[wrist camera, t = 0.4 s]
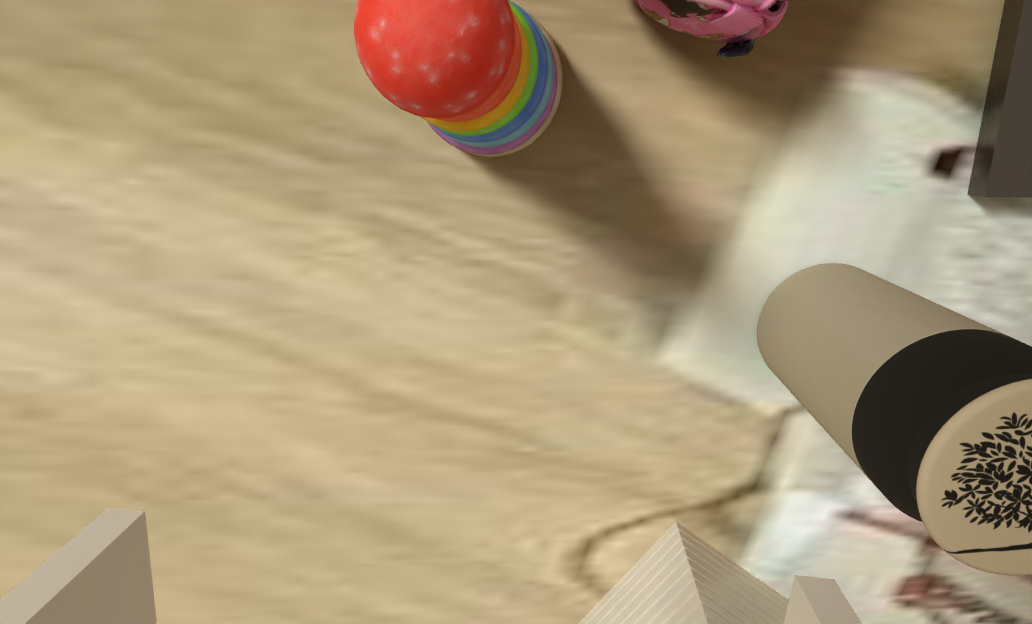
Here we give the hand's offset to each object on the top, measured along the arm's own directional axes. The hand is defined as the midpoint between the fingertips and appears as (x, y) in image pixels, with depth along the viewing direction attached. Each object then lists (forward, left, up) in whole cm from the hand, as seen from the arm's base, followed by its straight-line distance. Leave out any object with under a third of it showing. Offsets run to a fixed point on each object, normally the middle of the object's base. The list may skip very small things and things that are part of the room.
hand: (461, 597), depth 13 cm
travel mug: (+2, +18, -27) cm, 33 cm away
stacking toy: (-12, -2, -28) cm, 30 cm away
